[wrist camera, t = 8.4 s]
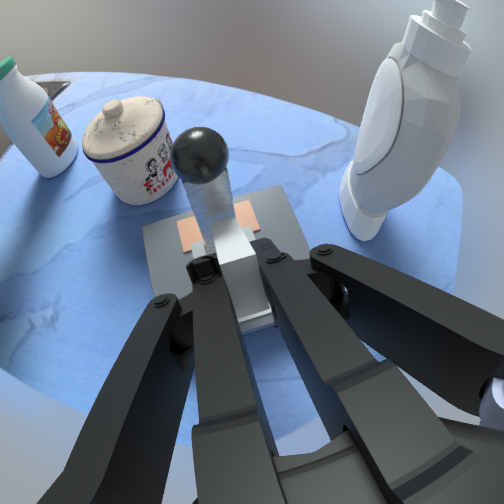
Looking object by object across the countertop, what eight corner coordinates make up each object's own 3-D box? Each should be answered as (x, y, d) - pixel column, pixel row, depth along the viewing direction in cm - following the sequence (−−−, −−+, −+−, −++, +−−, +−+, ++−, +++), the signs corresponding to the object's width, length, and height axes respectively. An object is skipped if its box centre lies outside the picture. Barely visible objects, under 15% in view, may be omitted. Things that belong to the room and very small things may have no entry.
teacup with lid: (166, 213, 29) (127, 139, 18) (102, 203, 30) (53, 141, 19) (200, 135, 33) (183, 60, 23) (140, 132, 34) (113, 67, 24)
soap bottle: (315, 152, 32) (354, -44, 9) (374, 162, 32) (445, -11, 9) (315, 250, 27) (418, -12, 5) (386, 257, 27) (544, 69, 4)
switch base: (323, 308, 25) (338, 294, 20) (177, 353, 24) (157, 351, 19) (279, 201, 29) (282, 169, 24) (151, 239, 28) (132, 214, 23)
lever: (251, 272, 23) (231, 141, 12) (216, 283, 23) (165, 160, 11) (240, 243, 24) (217, 110, 13) (207, 253, 24) (161, 126, 13)
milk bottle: (56, 185, 32) (-20, 88, 13) (35, 173, 33) (-31, 90, 14) (88, 145, 34) (30, 43, 16) (63, 137, 36) (10, 50, 17)
